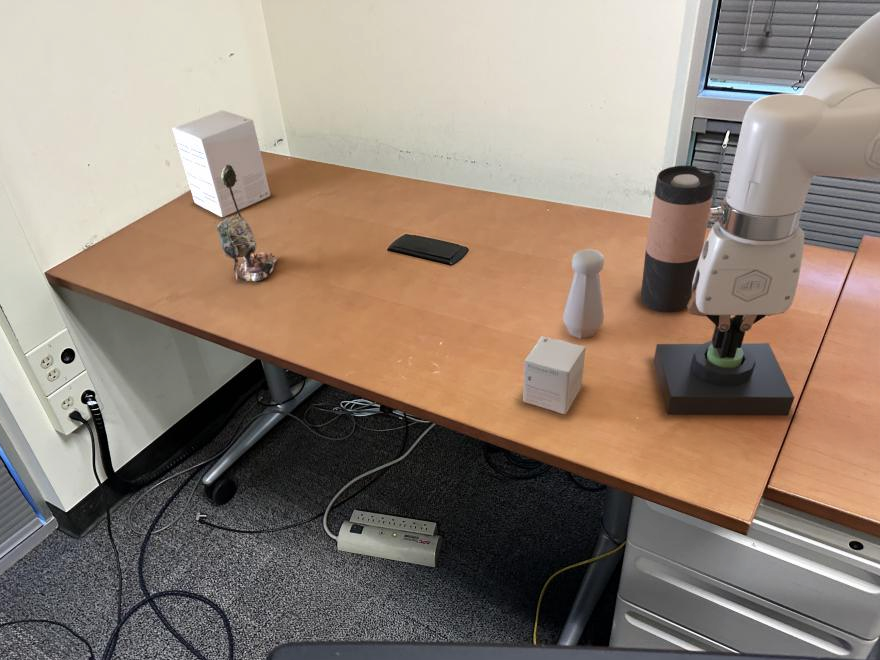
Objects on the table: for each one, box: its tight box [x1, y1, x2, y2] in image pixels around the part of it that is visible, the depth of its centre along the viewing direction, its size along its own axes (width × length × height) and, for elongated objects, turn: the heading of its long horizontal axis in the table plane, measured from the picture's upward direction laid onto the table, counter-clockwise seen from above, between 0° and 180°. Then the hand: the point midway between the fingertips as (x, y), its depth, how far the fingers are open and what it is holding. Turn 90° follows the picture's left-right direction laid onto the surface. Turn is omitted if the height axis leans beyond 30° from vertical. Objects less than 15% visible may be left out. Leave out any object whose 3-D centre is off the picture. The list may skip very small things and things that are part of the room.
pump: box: [706, 345, 744, 368], centre depth 87 cm, size 4×4×2 cm
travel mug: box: [640, 165, 717, 313], centre depth 100 cm, size 8×8×20 cm
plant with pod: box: [214, 165, 279, 282], centre depth 123 cm, size 8×11×20 cm
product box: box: [522, 335, 587, 415], centre depth 90 cm, size 6×6×7 cm
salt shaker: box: [562, 248, 605, 340], centre depth 99 cm, size 6×6×13 cm
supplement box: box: [172, 110, 271, 218], centre depth 152 cm, size 13×13×18 cm
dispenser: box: [653, 340, 796, 417], centre depth 88 cm, size 14×11×5 cm
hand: (724, 350), depth 86 cm, fingers closed
